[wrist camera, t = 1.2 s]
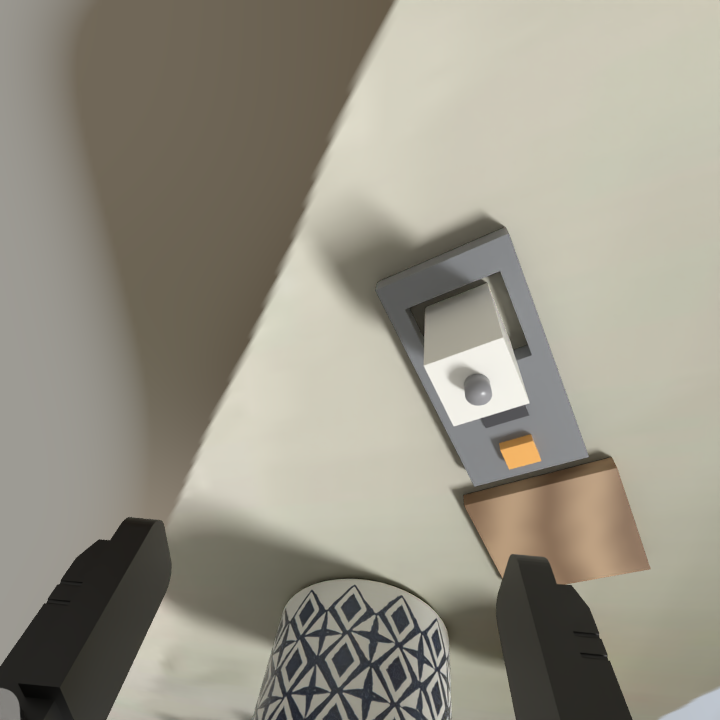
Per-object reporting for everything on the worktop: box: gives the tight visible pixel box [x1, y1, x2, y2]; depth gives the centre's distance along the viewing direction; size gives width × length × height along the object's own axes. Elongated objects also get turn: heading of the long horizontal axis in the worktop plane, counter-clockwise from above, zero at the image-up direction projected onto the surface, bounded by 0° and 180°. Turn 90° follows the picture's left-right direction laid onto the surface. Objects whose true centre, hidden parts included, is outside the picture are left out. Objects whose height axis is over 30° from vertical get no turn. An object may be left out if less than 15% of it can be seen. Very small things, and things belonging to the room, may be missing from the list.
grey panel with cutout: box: [375, 227, 589, 487], centre depth 34 cm, size 9×18×2 cm, turn 27°
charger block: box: [424, 283, 529, 426], centre depth 29 cm, size 4×4×9 cm
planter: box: [252, 579, 452, 720], centre depth 45 cm, size 18×18×16 cm
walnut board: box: [463, 457, 650, 585], centre depth 41 cm, size 12×12×1 cm
